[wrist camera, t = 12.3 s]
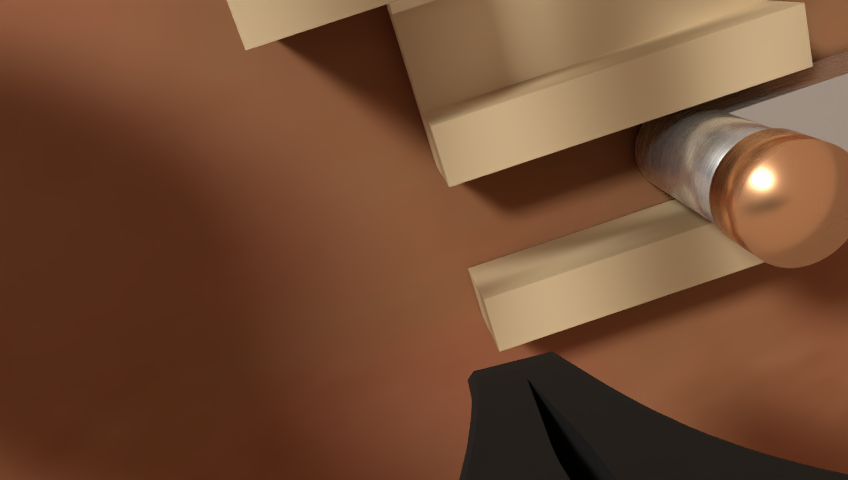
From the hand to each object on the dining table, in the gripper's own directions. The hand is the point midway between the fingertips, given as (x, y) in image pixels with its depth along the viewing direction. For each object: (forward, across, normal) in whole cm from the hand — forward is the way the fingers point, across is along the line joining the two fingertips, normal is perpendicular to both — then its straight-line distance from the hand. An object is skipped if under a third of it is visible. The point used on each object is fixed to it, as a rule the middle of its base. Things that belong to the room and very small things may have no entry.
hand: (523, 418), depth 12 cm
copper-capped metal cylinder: (+10, -9, -1) cm, 13 cm away
